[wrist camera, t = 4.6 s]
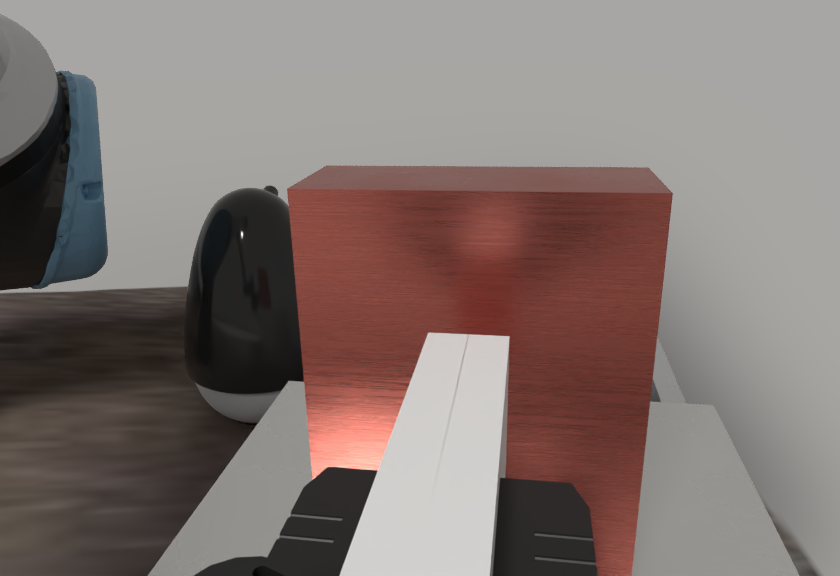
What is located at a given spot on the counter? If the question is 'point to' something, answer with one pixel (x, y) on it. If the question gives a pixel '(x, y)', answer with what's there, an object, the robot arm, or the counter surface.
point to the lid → (528, 360)
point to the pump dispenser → (243, 305)
